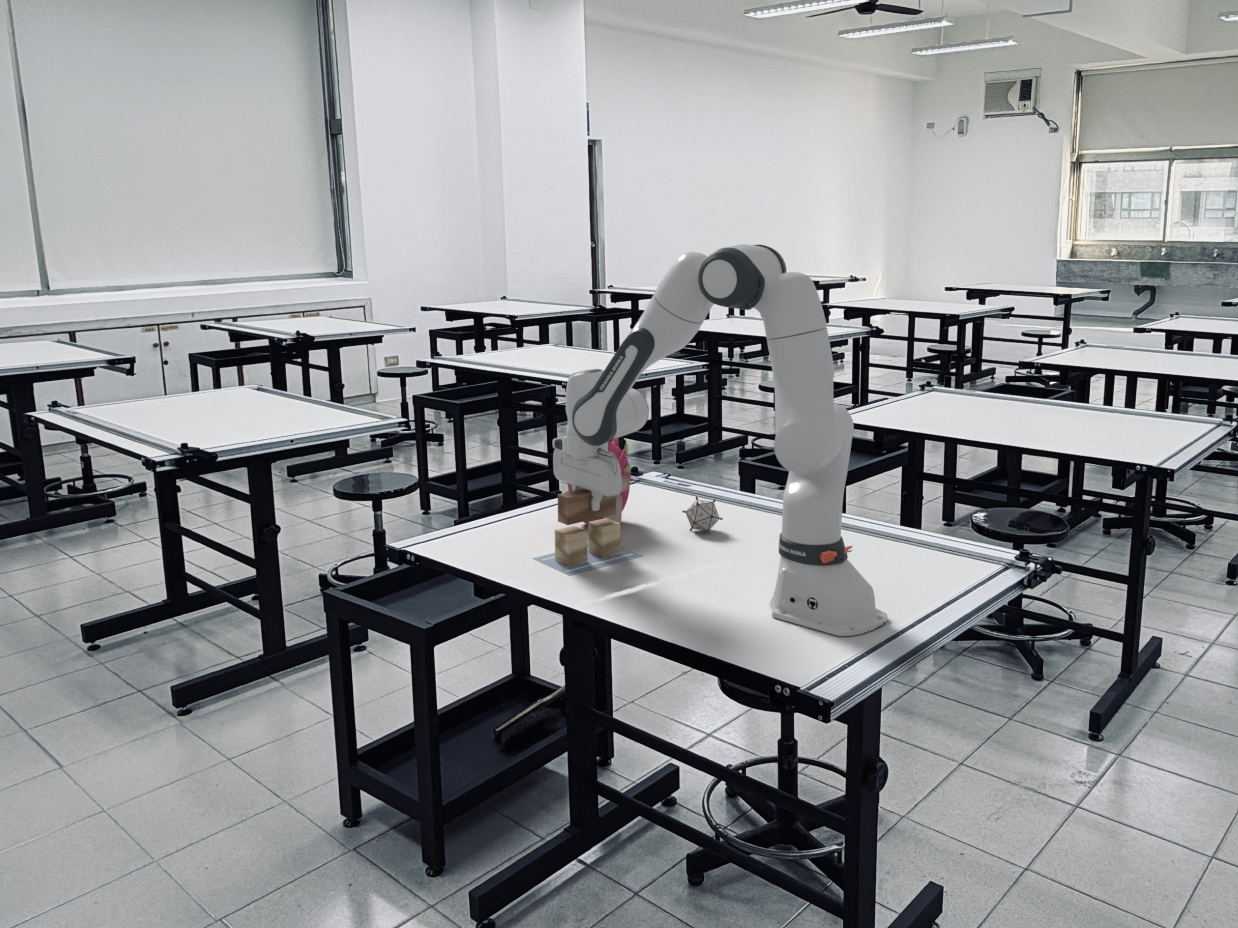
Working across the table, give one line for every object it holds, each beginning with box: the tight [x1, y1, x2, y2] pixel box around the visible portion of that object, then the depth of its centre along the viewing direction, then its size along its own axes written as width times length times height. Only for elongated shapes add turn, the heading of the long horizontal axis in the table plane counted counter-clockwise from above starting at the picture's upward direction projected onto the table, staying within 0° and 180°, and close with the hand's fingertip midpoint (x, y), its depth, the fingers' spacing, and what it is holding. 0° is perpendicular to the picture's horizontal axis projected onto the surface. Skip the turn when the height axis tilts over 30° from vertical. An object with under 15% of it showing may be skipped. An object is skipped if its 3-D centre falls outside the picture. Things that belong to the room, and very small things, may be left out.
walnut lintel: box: [557, 489, 616, 526], centre depth 221 cm, size 4×13×6 cm, turn 128°
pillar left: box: [554, 525, 589, 567], centre depth 220 cm, size 5×5×7 cm
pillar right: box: [587, 518, 621, 558], centre depth 225 cm, size 5×5×7 cm
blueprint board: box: [531, 543, 644, 577], centre depth 224 cm, size 14×20×1 cm
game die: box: [681, 495, 723, 535], centre depth 243 cm, size 9×8×10 cm
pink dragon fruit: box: [567, 438, 632, 526], centre depth 244 cm, size 18×14×30 cm
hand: (587, 507), depth 221 cm, fingers closed on walnut lintel, 3 cm apart
